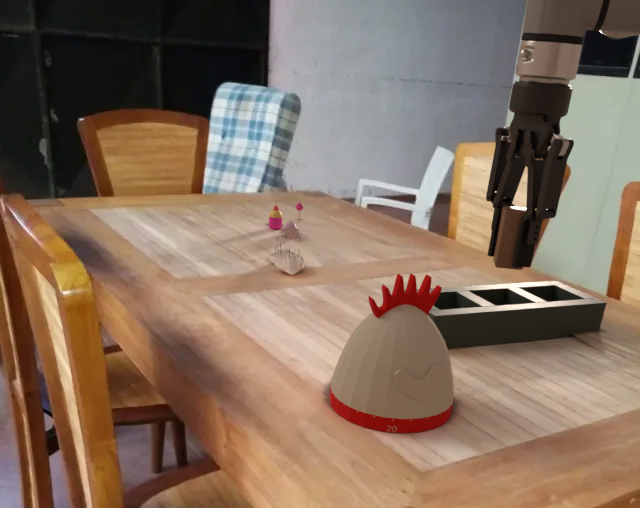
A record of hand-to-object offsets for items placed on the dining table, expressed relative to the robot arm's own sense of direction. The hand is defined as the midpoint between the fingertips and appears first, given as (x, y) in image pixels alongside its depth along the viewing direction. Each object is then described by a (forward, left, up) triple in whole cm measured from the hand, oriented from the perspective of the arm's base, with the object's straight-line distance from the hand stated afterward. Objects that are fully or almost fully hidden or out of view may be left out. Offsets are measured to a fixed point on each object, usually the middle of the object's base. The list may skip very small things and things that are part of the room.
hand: (508, 260), depth 101 cm
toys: (+65, +9, -10) cm, 66 cm away
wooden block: (0, 0, -1) cm, 1 cm away
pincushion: (+36, +20, -10) cm, 42 cm away
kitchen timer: (-19, +28, -10) cm, 35 cm away
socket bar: (0, 0, -10) cm, 10 cm away
